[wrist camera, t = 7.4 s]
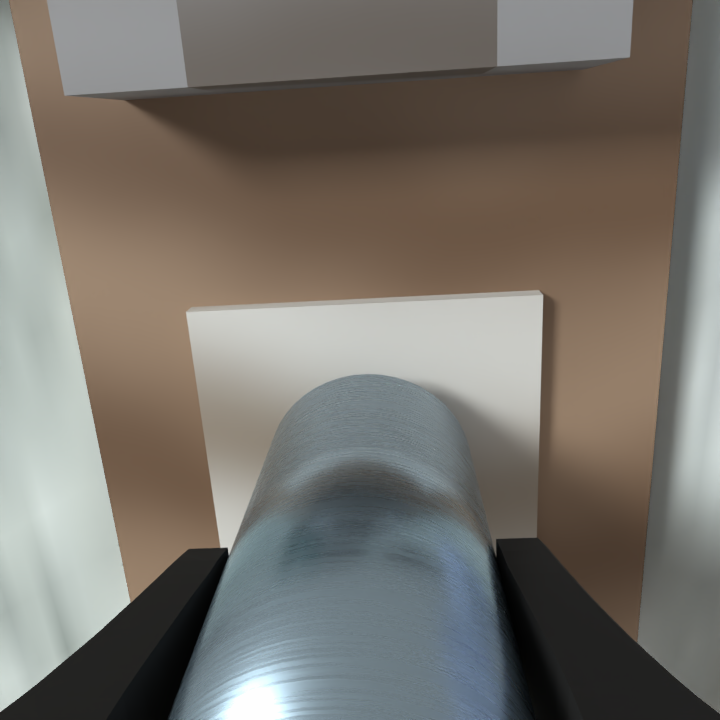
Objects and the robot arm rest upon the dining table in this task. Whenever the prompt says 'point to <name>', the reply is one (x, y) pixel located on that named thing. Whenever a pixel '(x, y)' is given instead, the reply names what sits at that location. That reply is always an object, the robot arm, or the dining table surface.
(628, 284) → the housing plate
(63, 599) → the dining table surface
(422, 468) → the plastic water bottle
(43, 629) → the dining table surface
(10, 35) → the dining table surface
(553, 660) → the robot arm
